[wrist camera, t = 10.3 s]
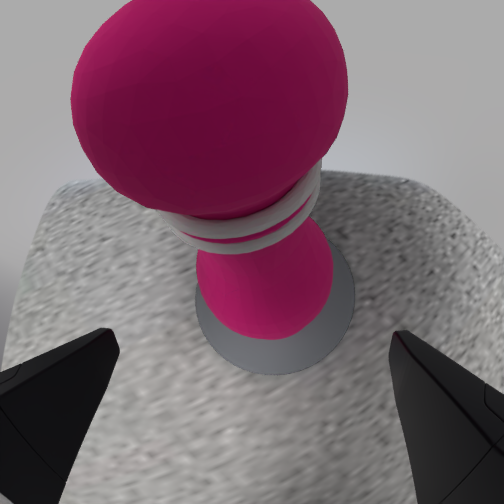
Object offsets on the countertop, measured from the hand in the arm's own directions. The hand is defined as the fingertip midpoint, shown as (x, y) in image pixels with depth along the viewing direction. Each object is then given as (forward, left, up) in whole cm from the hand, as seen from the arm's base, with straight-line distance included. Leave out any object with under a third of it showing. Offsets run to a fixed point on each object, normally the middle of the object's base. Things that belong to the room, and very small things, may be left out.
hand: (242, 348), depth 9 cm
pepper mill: (+5, -1, -11) cm, 12 cm away
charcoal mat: (+5, -1, -11) cm, 12 cm away
